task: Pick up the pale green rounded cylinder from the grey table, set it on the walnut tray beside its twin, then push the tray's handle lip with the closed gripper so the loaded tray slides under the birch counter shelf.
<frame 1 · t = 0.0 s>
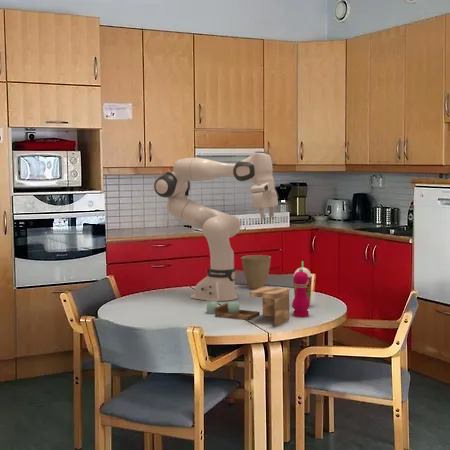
hand: (267, 217, 310), 39 cm above the table, tool pointing down, fingers open, 8 cm apart
pepper mill: (300, 315, 287), on the table
plant pot: (256, 288, 349), on the table
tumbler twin: (233, 315, 283), point 1 cm above the table, touching tray
counter cubby: (270, 321, 276), on the table
tray: (237, 312, 282), point 2 cm above the table, slide at 0.0 cm, touching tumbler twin
smoothie: (302, 306, 306), on the table
pale green rounded cylinder: (212, 315, 289), on the table
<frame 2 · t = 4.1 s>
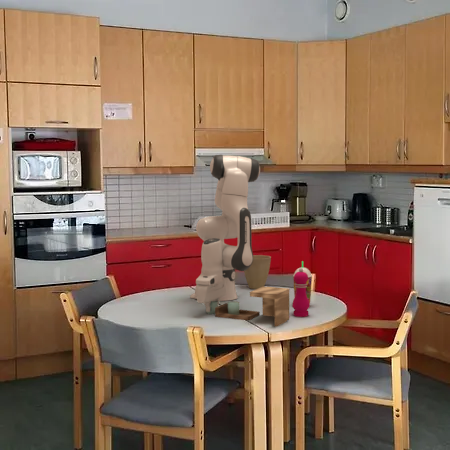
hand: (212, 309, 289), 2 cm above the table, tool pointing down, fingers closed on pale green rounded cylinder, 5 cm apart
pale green rounded cylinder: (212, 314, 289), on the table, touching gripper
everything else where it was.
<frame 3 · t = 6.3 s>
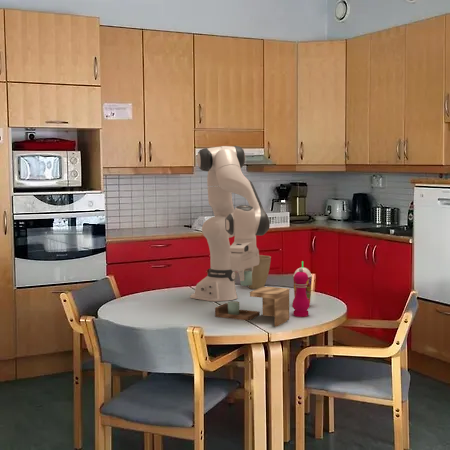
hand: (245, 279, 279), 17 cm above the table, tool pointing down, fingers closed on pale green rounded cylinder, 5 cm apart
pale green rounded cylinder: (246, 284, 279), point 14 cm above the table, touching gripper
everything else where it was.
when the fingers open (4 cm above the table, at t = 9.0 s): pale green rounded cylinder stays where it is, resting on tray.
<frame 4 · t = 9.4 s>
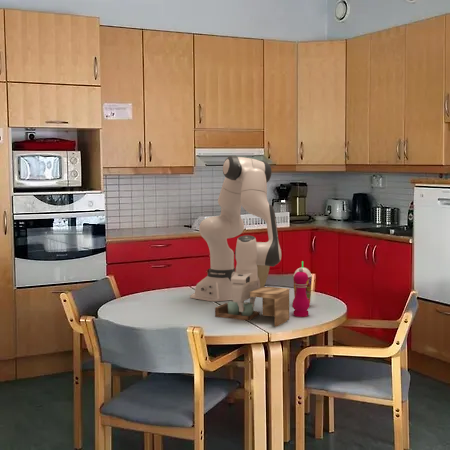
hand: (246, 309, 280), 4 cm above the table, tool pointing down, fingers open, 8 cm apart
tray: (237, 312, 282), point 2 cm above the table, slide at 0.0 cm, touching pale green rounded cylinder, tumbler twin
pale green rounded cylinder: (247, 316, 281), point 1 cm above the table, touching tray
everything else where it was.
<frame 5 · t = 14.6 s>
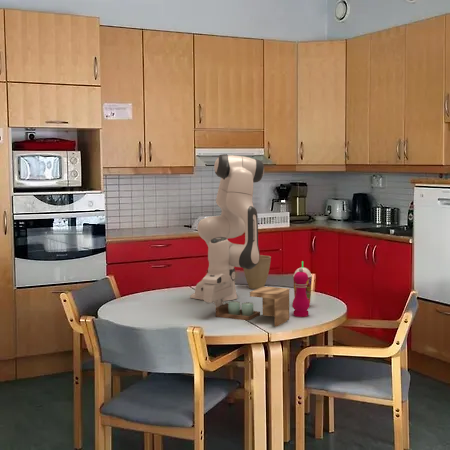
hand: (219, 309, 286), 3 cm above the table, tool pointing down, fingers closed
tray: (237, 312, 282), point 2 cm above the table, slide at 0.2 cm, touching gripper, pale green rounded cylinder, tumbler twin
everything else where it was.
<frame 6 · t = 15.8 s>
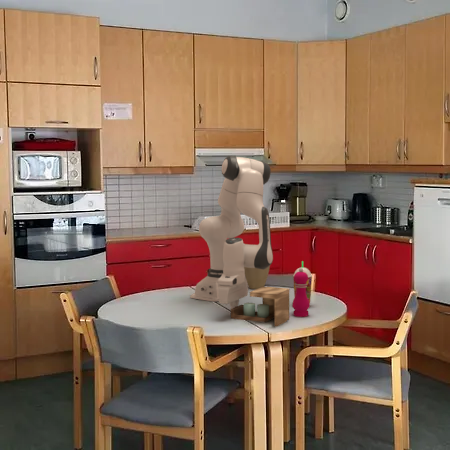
hand: (234, 310, 283), 3 cm above the table, tool pointing down, fingers closed
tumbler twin: (249, 317, 280), point 1 cm above the table, touching tray
tray: (253, 314, 279), point 2 cm above the table, slide at 7.2 cm, touching gripper, pale green rounded cylinder, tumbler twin
pale green rounded cylinder: (263, 318, 277), point 1 cm above the table, touching tray
everything else where it was.
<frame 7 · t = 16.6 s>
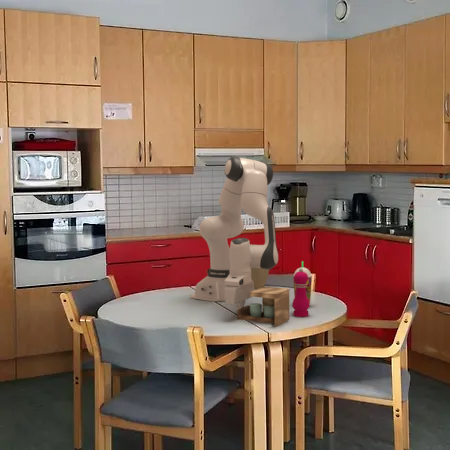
hand: (240, 311, 282), 3 cm above the table, tool pointing down, fingers closed, pressing on tray
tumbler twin: (255, 317, 279), point 1 cm above the table, touching tray
tray: (259, 314, 278), point 2 cm above the table, slide at 10.1 cm, touching gripper, pale green rounded cylinder, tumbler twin
pale green rounded cylinder: (269, 319, 276), point 1 cm above the table, touching tray
everything else where it was.
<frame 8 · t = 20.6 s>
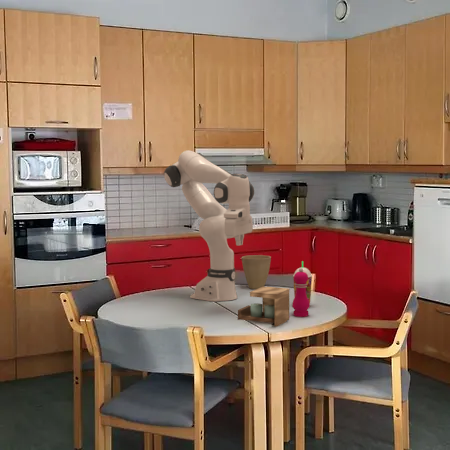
hand: (239, 245, 289), 29 cm above the table, tool pointing down, fingers closed
tray: (260, 314, 278), point 2 cm above the table, slide at 10.3 cm, touching pale green rounded cylinder, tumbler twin
everything else where it was.
at the end: tray slide at 10.3 cm; pale green rounded cylinder inside the target area on the tray (3.6 cm from its centre), point 1.0 cm above the tray's base; pale green rounded cylinder tilted 1° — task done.
